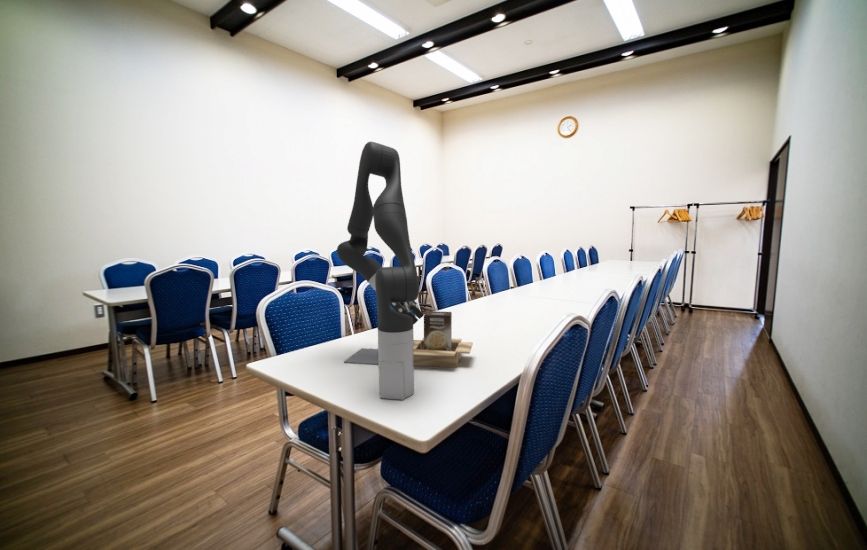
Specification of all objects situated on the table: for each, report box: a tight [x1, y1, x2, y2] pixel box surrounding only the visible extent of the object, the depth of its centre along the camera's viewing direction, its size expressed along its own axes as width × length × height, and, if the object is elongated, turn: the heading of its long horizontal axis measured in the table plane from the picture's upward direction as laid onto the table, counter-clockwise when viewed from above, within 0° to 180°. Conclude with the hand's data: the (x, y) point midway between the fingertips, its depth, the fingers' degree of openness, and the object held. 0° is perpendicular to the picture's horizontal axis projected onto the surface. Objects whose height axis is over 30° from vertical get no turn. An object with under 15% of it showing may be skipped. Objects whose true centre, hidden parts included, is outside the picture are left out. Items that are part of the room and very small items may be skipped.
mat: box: [343, 348, 379, 366], centre depth 127 cm, size 15×14×1 cm
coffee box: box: [423, 310, 453, 351], centre depth 122 cm, size 9×6×16 cm
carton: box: [413, 337, 474, 368], centre depth 123 cm, size 19×22×5 cm
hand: (419, 319), depth 123 cm, fingers open, 8 cm apart
